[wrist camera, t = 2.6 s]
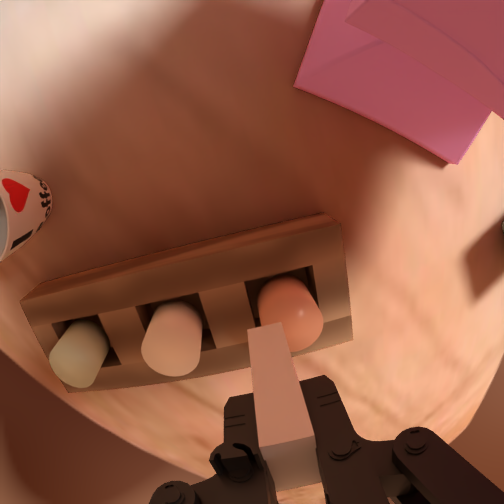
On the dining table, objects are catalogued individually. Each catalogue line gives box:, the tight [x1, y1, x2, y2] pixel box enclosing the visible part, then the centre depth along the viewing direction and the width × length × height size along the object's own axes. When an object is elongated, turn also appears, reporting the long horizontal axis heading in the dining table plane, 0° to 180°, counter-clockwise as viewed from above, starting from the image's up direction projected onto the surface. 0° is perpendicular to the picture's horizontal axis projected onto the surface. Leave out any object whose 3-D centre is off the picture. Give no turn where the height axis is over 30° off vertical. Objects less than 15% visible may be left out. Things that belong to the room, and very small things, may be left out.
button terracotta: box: [257, 275, 323, 352], centre depth 27 cm, size 5×5×5 cm
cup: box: [0, 170, 52, 262], centre depth 23 cm, size 8×8×10 cm
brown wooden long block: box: [20, 213, 353, 393], centre depth 30 cm, size 12×32×5 cm, turn 103°
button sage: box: [49, 319, 110, 388], centre depth 27 cm, size 5×5×5 cm
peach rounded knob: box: [141, 300, 203, 376], centre depth 27 cm, size 5×5×5 cm
